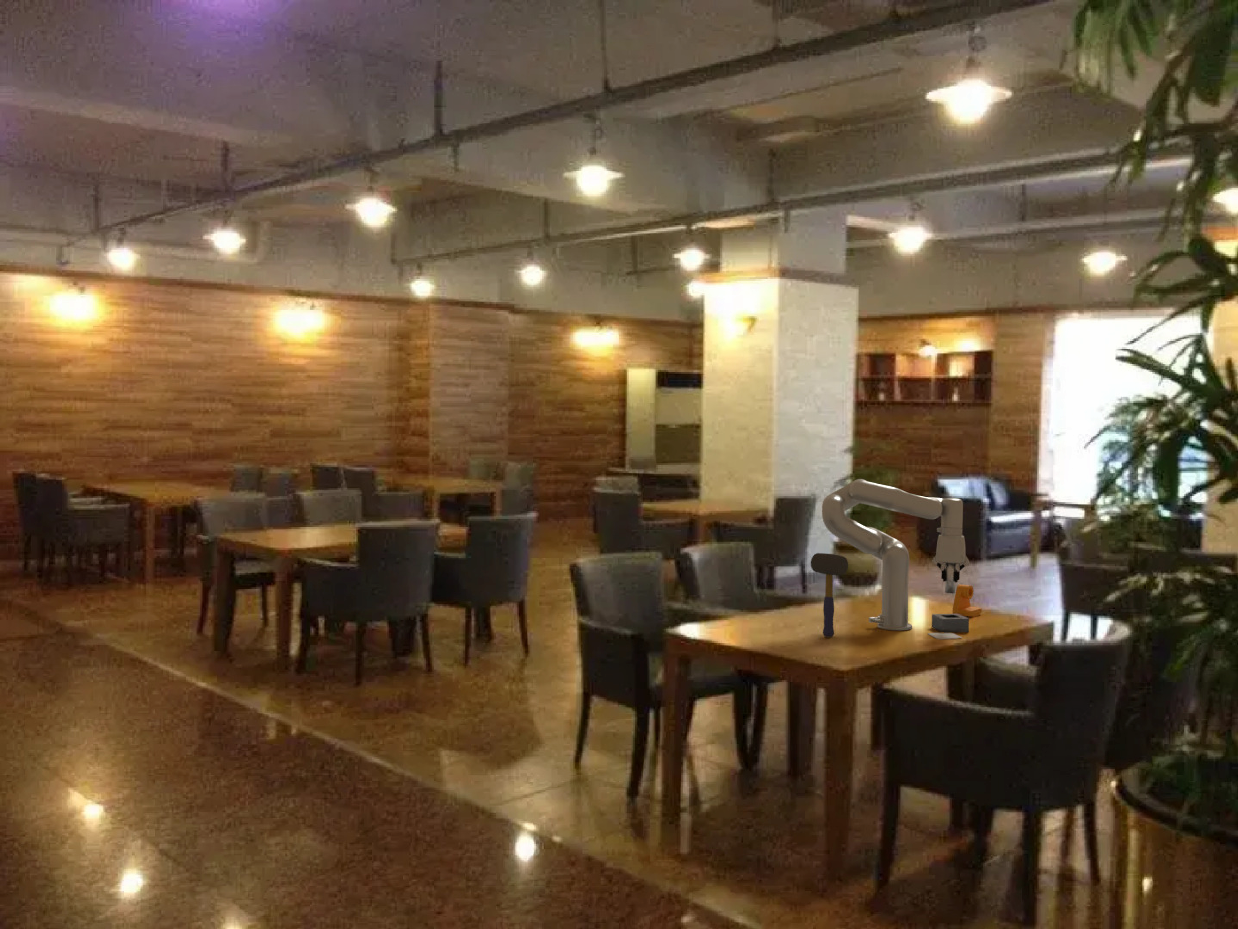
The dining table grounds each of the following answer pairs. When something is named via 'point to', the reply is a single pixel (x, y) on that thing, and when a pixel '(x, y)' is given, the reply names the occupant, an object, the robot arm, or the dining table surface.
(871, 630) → the dining table surface
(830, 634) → the rubber mallet
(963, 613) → the bracket
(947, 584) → the steel peg
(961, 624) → the chuck block
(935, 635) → the pad
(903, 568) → the robot arm
